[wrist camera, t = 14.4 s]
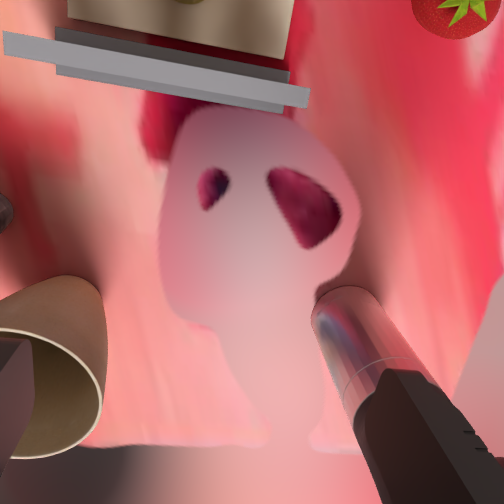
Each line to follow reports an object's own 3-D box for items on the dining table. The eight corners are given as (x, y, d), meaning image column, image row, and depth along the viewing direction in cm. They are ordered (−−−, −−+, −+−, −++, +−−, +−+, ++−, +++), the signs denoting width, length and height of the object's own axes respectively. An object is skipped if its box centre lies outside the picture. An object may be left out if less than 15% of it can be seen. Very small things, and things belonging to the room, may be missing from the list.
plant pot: (-19, 309, 47) (-120, 412, 33) (50, 221, 44) (-30, 293, 29) (89, 370, 52) (43, 482, 38) (158, 295, 49) (136, 388, 34)
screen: (288, 71, 40) (314, 70, 30) (281, 113, 41) (303, 125, 31) (59, 27, 36) (1, 9, 26) (60, 74, 38) (5, 74, 28)
